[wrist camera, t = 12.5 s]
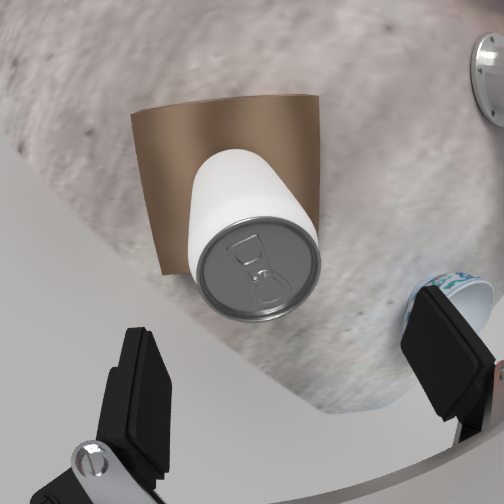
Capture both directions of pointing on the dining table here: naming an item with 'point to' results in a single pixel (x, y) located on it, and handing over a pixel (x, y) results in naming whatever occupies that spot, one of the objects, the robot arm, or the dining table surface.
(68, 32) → the dining table surface
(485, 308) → the chinaware
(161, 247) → the base
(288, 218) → the can
